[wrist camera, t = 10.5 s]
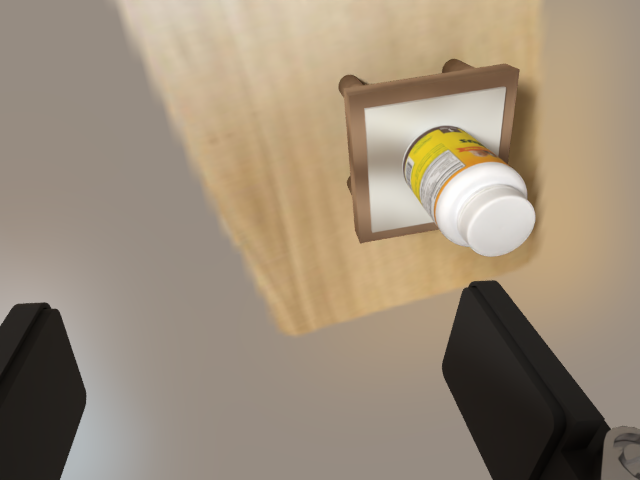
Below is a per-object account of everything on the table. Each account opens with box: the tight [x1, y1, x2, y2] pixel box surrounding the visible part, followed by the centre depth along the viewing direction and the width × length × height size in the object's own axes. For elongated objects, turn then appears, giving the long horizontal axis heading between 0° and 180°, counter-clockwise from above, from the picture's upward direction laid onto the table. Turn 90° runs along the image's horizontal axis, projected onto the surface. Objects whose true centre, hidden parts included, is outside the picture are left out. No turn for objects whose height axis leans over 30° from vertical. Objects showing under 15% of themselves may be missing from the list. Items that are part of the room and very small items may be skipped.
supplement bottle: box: [402, 125, 535, 257], centre depth 29 cm, size 6×6×10 cm
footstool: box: [339, 59, 519, 243], centre depth 37 cm, size 12×12×8 cm
